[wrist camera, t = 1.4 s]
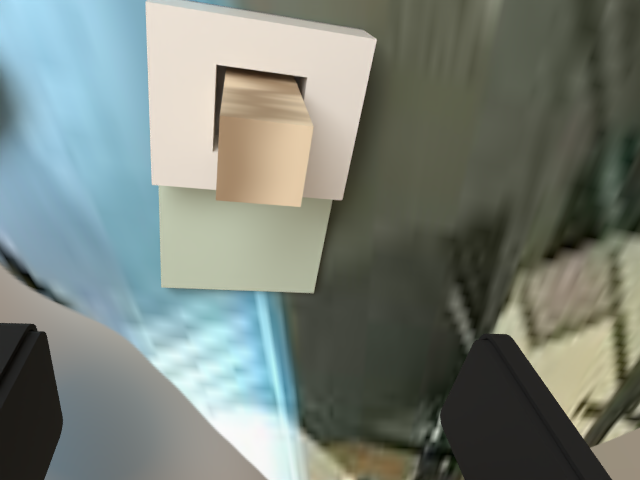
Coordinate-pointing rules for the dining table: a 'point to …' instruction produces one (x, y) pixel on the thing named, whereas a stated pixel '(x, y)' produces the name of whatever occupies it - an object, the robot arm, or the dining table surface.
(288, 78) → the plug
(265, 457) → the dining table surface
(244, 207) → the mat
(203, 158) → the socket block
